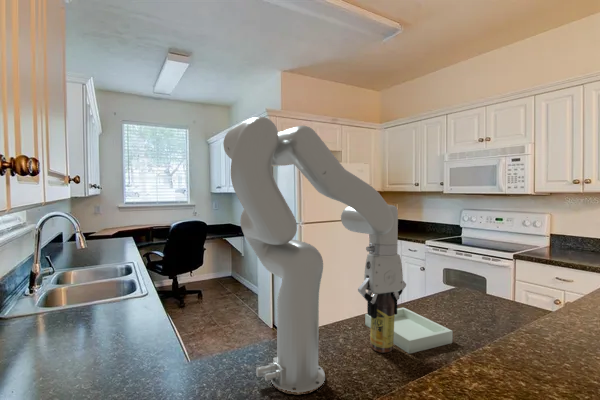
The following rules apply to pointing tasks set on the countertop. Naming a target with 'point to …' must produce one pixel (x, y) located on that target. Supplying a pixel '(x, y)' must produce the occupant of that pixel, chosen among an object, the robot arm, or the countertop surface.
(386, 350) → the sauce bottle
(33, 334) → the countertop surface
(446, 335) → the tray
